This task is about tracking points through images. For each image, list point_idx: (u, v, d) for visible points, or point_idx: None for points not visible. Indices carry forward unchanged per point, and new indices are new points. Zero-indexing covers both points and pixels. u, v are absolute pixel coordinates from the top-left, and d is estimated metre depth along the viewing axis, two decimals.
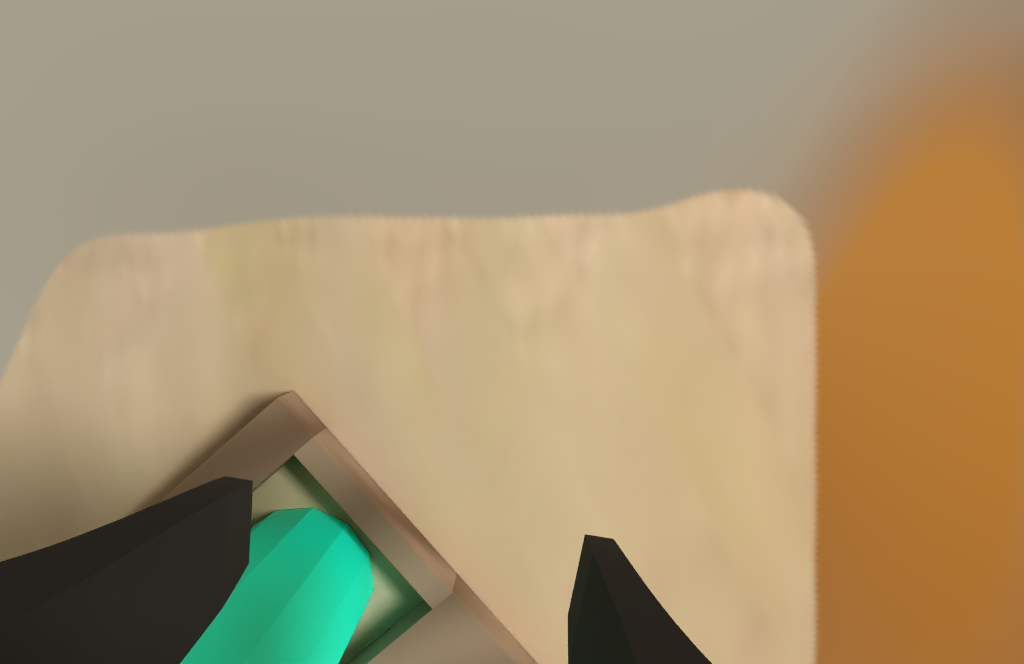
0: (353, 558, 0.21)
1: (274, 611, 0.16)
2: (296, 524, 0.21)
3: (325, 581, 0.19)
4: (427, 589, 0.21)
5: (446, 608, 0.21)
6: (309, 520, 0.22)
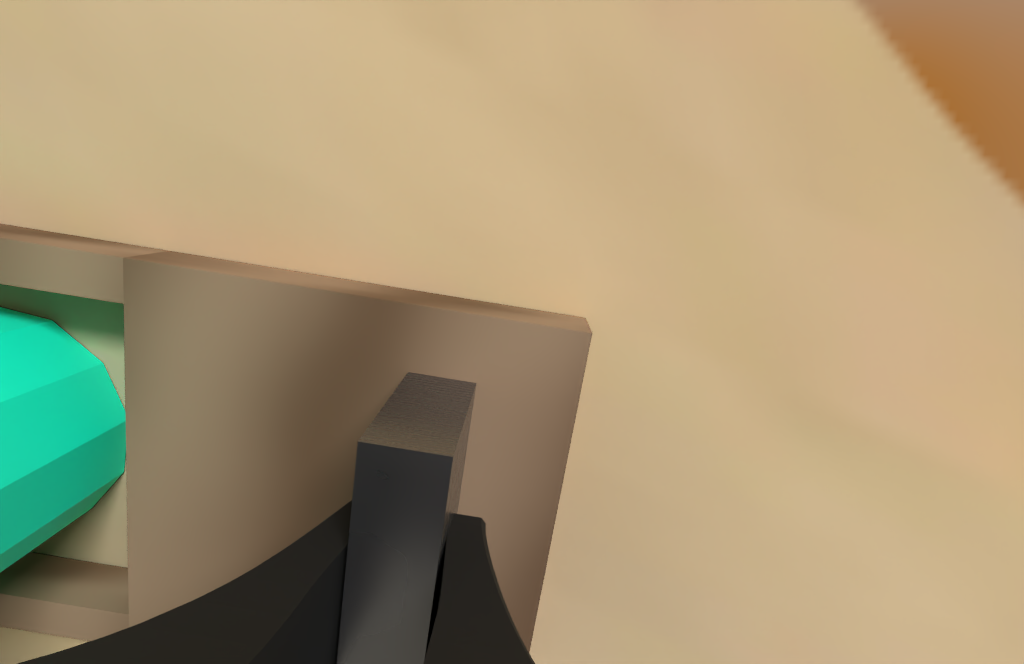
0: None
1: None
2: None
3: None
4: (91, 282, 0.12)
5: (138, 286, 0.12)
6: None
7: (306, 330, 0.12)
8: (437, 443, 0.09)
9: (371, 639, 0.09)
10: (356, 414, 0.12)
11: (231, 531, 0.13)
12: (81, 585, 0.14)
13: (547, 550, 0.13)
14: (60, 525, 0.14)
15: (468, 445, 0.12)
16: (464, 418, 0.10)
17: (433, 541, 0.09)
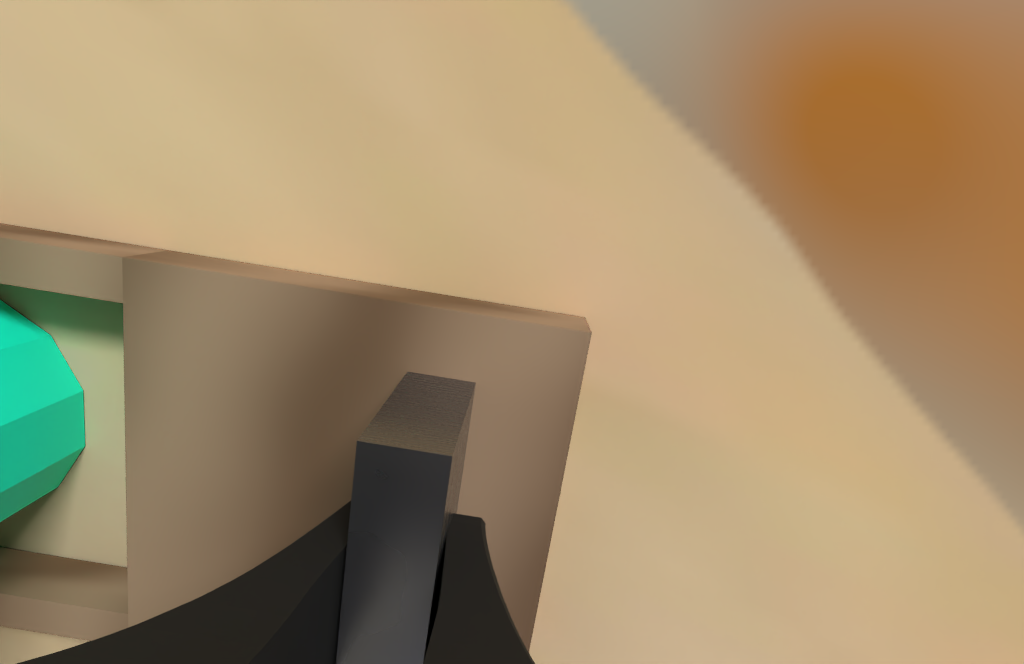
0: None
1: None
2: None
3: None
4: (90, 281, 0.12)
5: (137, 285, 0.12)
6: None
7: (305, 329, 0.12)
8: (436, 442, 0.09)
9: (370, 639, 0.09)
10: (356, 413, 0.12)
11: (231, 530, 0.13)
12: (80, 585, 0.14)
13: (546, 550, 0.13)
14: (21, 500, 0.13)
15: (467, 445, 0.12)
16: (463, 417, 0.10)
17: (432, 541, 0.09)
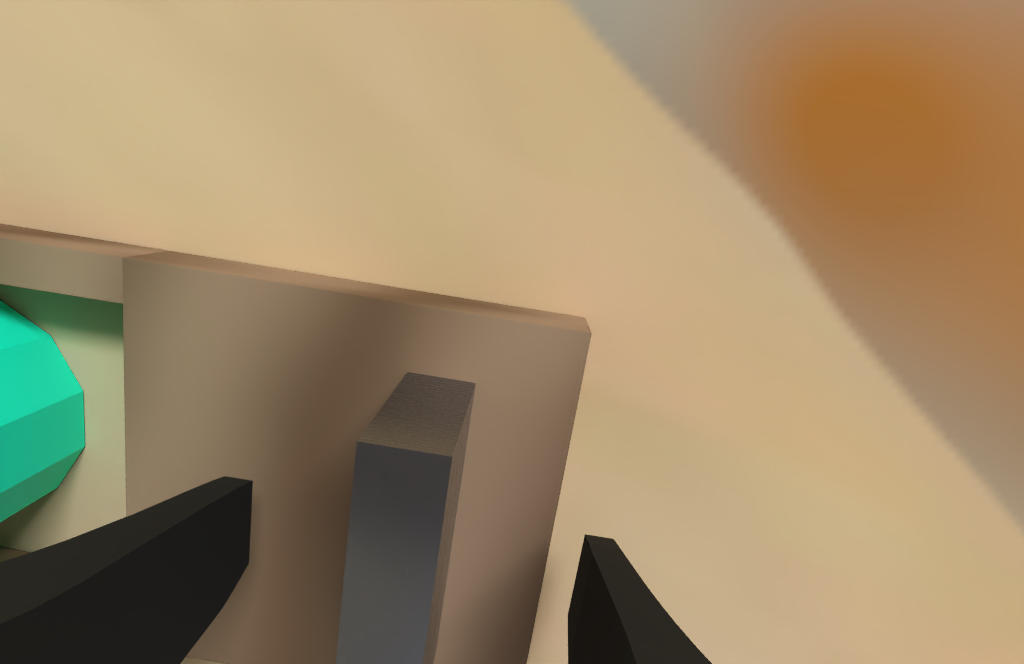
0: None
1: None
2: None
3: None
4: (90, 281, 0.12)
5: (137, 285, 0.12)
6: None
7: (305, 330, 0.12)
8: (436, 443, 0.09)
9: (369, 639, 0.09)
10: (356, 413, 0.12)
11: None
12: None
13: (546, 550, 0.13)
14: (21, 501, 0.13)
15: (467, 445, 0.12)
16: (463, 417, 0.10)
17: (432, 542, 0.09)
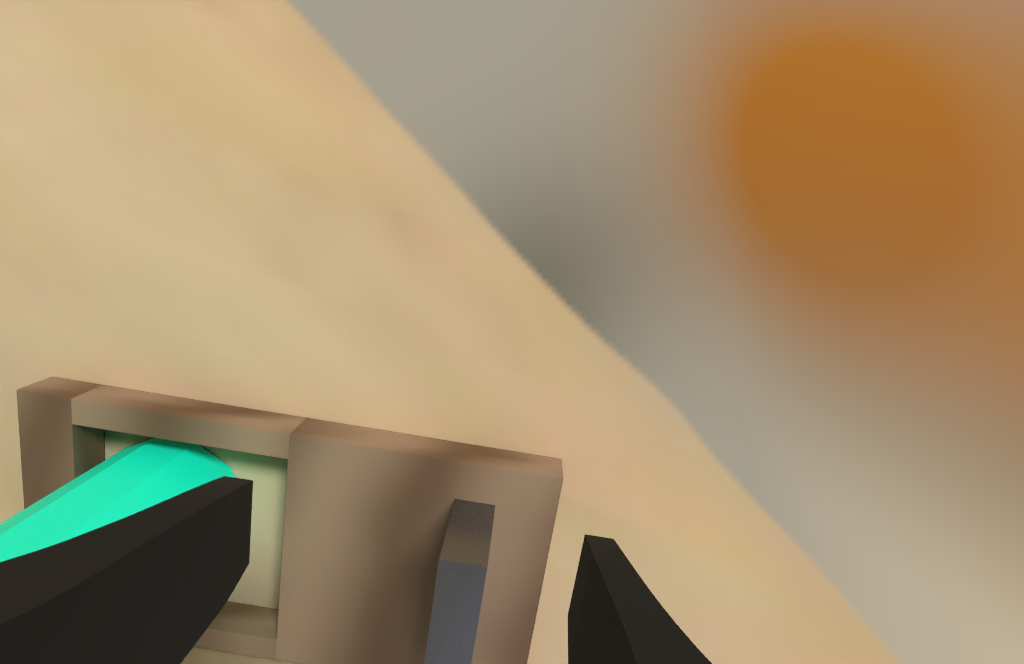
0: (162, 454, 0.21)
1: (2, 532, 0.16)
2: (92, 468, 0.20)
3: (104, 484, 0.18)
4: (269, 446, 0.20)
5: (297, 449, 0.20)
6: (110, 458, 0.21)
7: (395, 474, 0.20)
8: (478, 558, 0.17)
9: (442, 659, 0.18)
10: (423, 521, 0.20)
11: (344, 589, 0.21)
12: (242, 620, 0.23)
13: (537, 601, 0.21)
14: None
15: None
16: (490, 537, 0.18)
17: (476, 609, 0.17)
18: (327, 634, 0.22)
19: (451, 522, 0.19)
